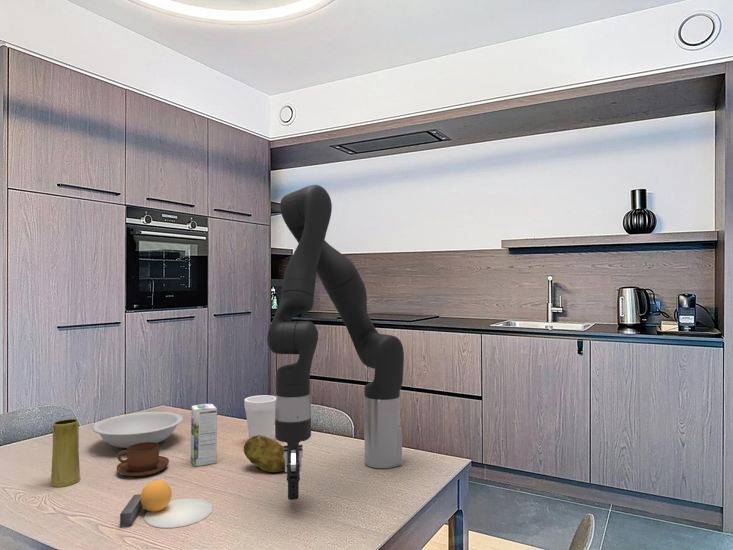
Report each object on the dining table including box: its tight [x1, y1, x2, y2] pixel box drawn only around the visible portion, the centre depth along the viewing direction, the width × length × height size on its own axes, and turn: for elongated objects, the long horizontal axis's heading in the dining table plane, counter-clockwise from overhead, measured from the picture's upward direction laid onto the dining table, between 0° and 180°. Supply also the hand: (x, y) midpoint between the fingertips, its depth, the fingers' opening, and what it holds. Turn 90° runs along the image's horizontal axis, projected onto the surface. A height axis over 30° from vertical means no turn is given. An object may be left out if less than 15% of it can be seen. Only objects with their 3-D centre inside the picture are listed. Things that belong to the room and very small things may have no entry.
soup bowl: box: [91, 411, 184, 449], centre depth 149 cm, size 24×24×7 cm
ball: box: [140, 479, 172, 512], centre depth 106 cm, size 6×6×6 cm
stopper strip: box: [119, 493, 144, 528], centre depth 103 cm, size 2×9×2 cm, turn 9°
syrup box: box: [190, 403, 218, 468], centre depth 134 cm, size 6×6×14 cm
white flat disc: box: [144, 498, 213, 529], centre depth 105 cm, size 13×13×1 cm
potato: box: [243, 435, 288, 473], centre depth 129 cm, size 8×13×8 cm, turn 60°
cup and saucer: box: [116, 442, 170, 477], centre depth 128 cm, size 12×12×6 cm
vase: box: [49, 418, 81, 488], centre depth 121 cm, size 6×6×14 cm
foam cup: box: [243, 394, 276, 440], centre depth 149 cm, size 10×9×13 cm
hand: (293, 498), depth 108 cm, fingers closed
